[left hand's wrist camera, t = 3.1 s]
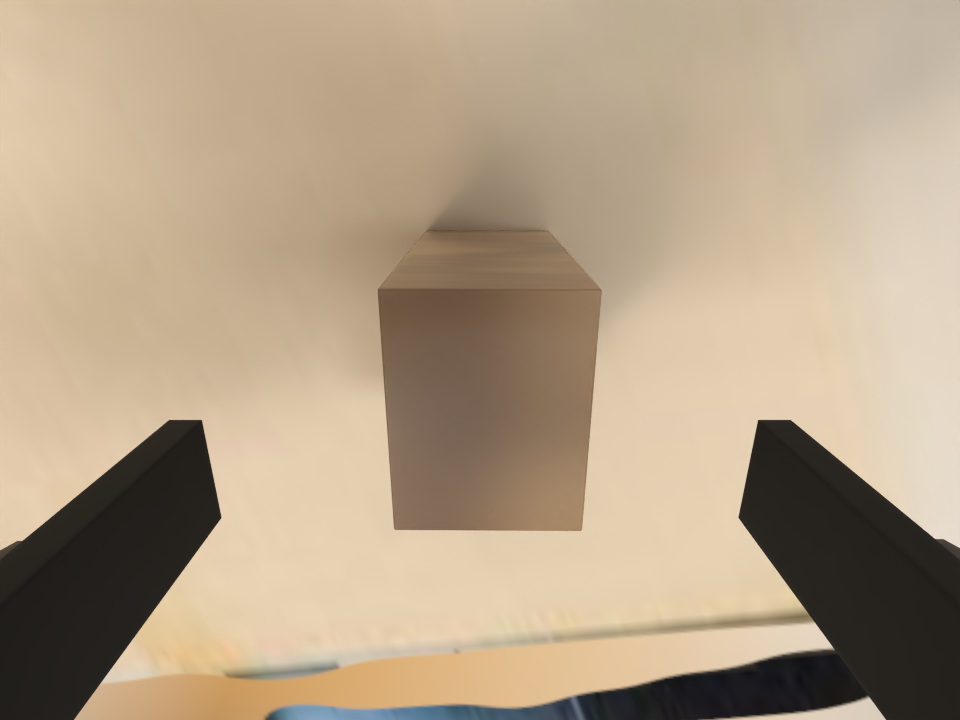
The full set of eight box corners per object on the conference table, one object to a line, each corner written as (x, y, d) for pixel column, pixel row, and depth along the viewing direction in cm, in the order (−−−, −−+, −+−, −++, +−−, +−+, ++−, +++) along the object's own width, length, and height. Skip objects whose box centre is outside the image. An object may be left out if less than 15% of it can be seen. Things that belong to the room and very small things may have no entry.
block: (549, 230, 25) (602, 289, 13) (542, 380, 27) (581, 531, 16) (425, 230, 25) (377, 288, 14) (431, 380, 27) (393, 530, 16)
